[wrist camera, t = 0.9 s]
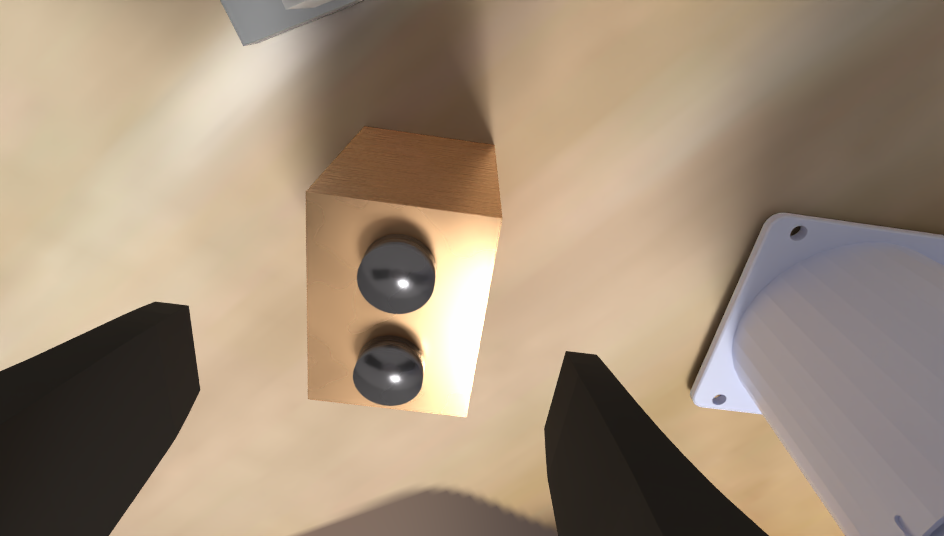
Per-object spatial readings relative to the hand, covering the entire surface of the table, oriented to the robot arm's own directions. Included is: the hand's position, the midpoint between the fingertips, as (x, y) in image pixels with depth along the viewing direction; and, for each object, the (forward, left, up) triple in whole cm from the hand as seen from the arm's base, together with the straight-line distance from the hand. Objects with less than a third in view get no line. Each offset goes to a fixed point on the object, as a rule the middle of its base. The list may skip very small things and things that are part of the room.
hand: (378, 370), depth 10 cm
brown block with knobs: (0, 0, -8) cm, 8 cm away
